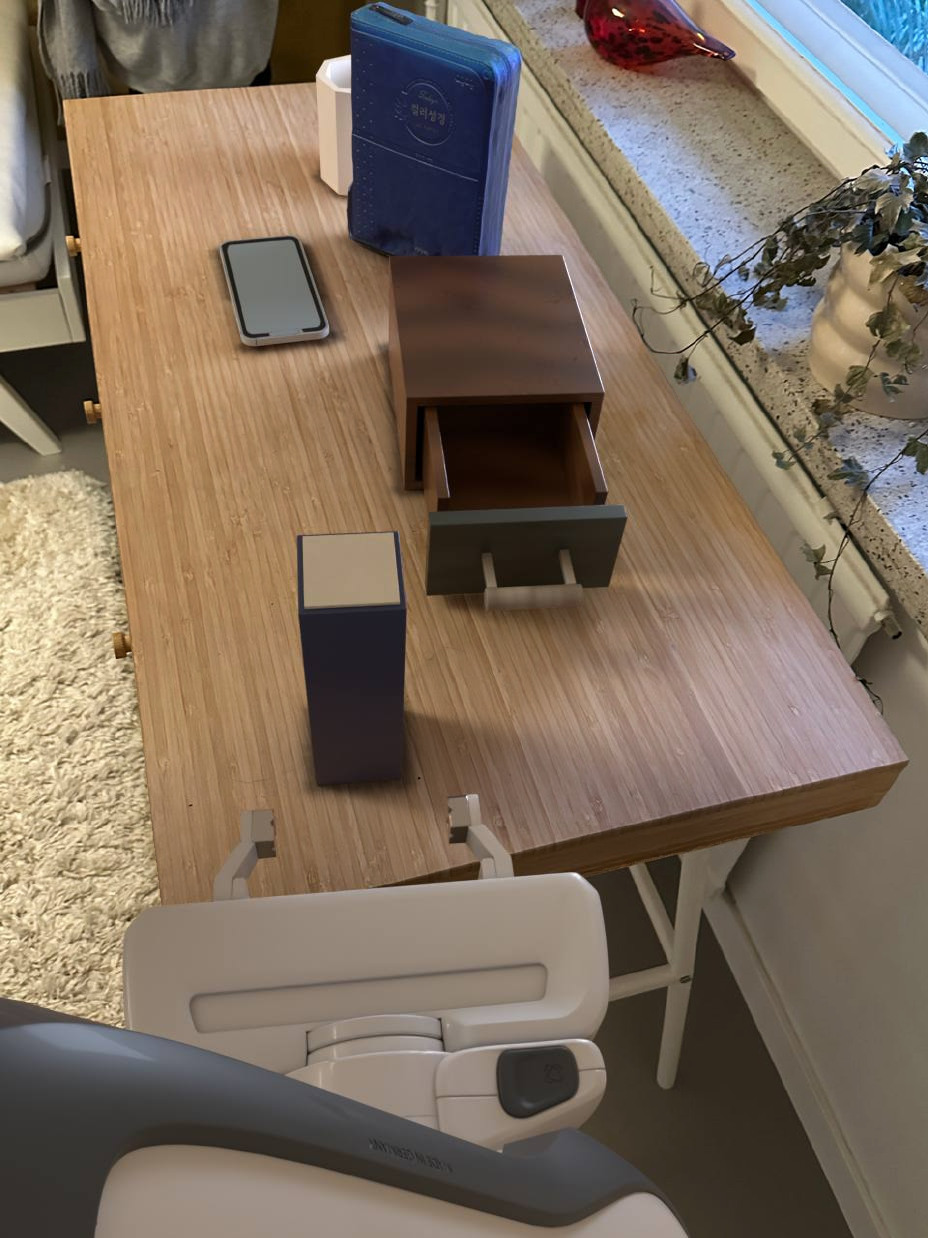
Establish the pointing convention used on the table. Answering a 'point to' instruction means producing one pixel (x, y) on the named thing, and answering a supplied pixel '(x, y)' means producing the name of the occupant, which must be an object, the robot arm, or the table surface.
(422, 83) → the book
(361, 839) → the table surface
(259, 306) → the smartphone
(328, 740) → the box
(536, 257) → the cabinet
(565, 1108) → the robot arm
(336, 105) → the mug
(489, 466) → the drawer
